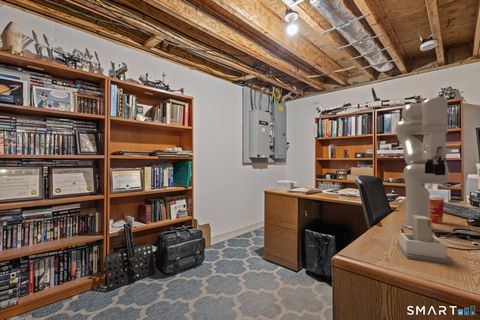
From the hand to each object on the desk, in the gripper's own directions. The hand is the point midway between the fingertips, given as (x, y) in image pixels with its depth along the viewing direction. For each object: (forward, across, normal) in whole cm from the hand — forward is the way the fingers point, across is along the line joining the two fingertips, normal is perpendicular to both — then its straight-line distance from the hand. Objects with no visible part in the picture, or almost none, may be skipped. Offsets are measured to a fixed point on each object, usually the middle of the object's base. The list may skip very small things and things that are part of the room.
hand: (434, 174), depth 91 cm
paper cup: (+28, -43, +14) cm, 53 cm away
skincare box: (+28, +10, -7) cm, 30 cm away
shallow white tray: (+28, +10, -7) cm, 31 cm away
